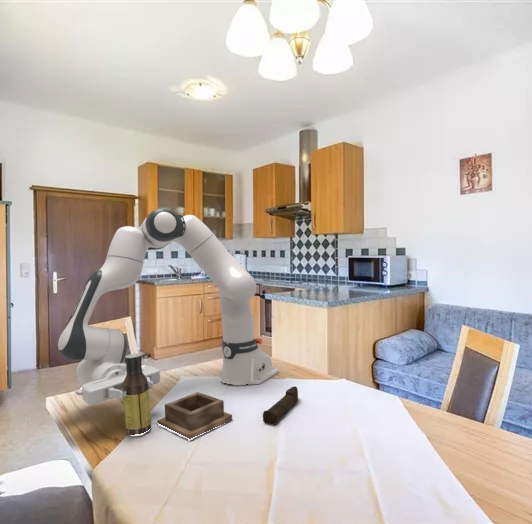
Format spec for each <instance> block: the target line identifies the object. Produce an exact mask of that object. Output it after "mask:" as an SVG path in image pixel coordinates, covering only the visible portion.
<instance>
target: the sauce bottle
mask: <svg viewBox="0 0 532 524" xmlns="http://www.w3.org/2000/svg"><path fill="white" fill-rule="evenodd" d="M142 359H143V357H142V354H141V353H131V354H130V353H129V354H126V356H125V358H124V363H126V369H127V371H126V372H127V376H126V378H125V379H124V382H123V389H124V390H126V395H127V396H126V397H124V398H122V399H123V411H124V413H123V414H124V423H125V429H126V431H125V432H126V435H127V436H129V435H135V434H141V433H144V432H146V431H148V430H149V429H150V428H151V429H152V427H151V426H152V424H151V423H152V417H151V406H150V405H151V402H150V391H149V390H150V389H148V381H147V378H146V376H145V375H144V374H143V373H142V365H143V364H141V363H142ZM151 429H150V430H151Z"/></svg>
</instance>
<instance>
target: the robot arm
mask: <svg viewBox="0 0 532 524" xmlns="http://www.w3.org/2000/svg"><path fill="white" fill-rule="evenodd" d="M172 242H175V243H178V244H179V245H180V246H181V247H183V249H184V250H185V251H186V252H187V254H189V256H190V257H191V259H192V260H193V261H194V262H195V263H196V264H197V266H199V268H200V269H201V270H202V272H204V273H205V275H206V276H207V277H208V278H209V279H210V280H211V281H212V282H213V283H214V284H215V286H217V288H218V296H219V305H220V312H221V319H222V321H221V322H222V323H221V324H222V338H223V339H222V342H221V343H222V345H221V346H222V354H223V355H222V357H223V358H222V367H221V376H220V379H221V381H222V382H224V383H227V384H226V385H228V384H233V385H232V386H247V385H246V384H248V385H261V384H262V383H264V382H266V381H267V380H269V379H270V378H272V377H273V376H275V375H276V374H278V373H279V372H280V370H279V369H278V368H277V367H275V366H273V363H272V358H271V356H270V355H269V354H267V353H266V352H264V351H263V350H262V349H260V348H259V346H258V345H262V344H263V339H262V338H259V337H257V338H255V333H254V332H255V328H254V327H255V326H254V316H253V313H252V312H253V311H252V309H251V302H250V301H251V300H252V298H254V296H255V295H256V293H257V283H256V281H255V279H254V277H253V276H252V275H251V274H250V273H249V271H248V270H247V269H246V268H245V266H244V265H242V263H240V262H239V261H238V260H237V259H236V258H235V257H234V256H233V255H232V254H231V252H229V251H228V249H227V248H226V247H225V246H224V245H223V243H222V242H221V241H220V240H219V238H217V236H216V235H215V234H214V233H213V231H212V230H211V229H210V228H209V227H208V226H207V225H206V224H205V223H204V222H203V221H202V220H201V219H199V218H198V217H197V216H196V215H194V214H186V215H183V216H182V215H180V214H178V213H177V212H175V211H173V210H172V209H168V208H164V207H163V208H162V207H161V208H156V209H154V210H152V211H151V212H149V214H148V215H147V216H146V217H145V219H144V220H143V222H142V223H141V225H140V226H138V227H135V226H130V225H128V226H127V225H126V226H122V227H121V226H120V227H118V229H117V230H116V231H115V233H114V235H113V237H112V240H111V242H110V245H109V248H108V251H107V254H106V257H105V261H104V264H103V265H102V266H101V268H100V269H99V270H95V271H93V272H91V274H90V275H89V277H88V278H87V280H86V283H85V284H84V287H83V289H82V290H81V292H80V295H79V297H78V299H77V302H76V304H75V306H74V308H73V311H72V312H71V315H70V317H69V319H68V321H67V323H66V324H65V326H64V328H63V330H62V331H61V333H60V335H59V338H58V342H57V351H58V352H59V353H60V355H61V356H62V357H63V359H64V360H66V361H69V362H71V361H75V362H77V361H80V362H79V363H78V364H77V366H76V371H75V375H76V378H77V380H78V382H79V383H80V384H81V385H82V386H81V387H79V388H78V389H76V390H75V395H77V396H79V397H80V396H81V398H82V400H83V401H84V402H85V403H86V404H88V405H95V404H99V403H101V402H104V401H107V400H111V399H120V400H122V399H123V398H124V397H126V396H127V395H126V390H124V389H123V382H124V379H125V378H126V376H127V372H126V371H127V369H126V362H124V361H125V356H127V352H128V340H127V337H126V335H125V334H124V332H123V331H122V330H120V329H115V328H109V327H98V326H93V325H92V326H91V325H88V324H89V320H90V319H91V316H92V314H93V311H94V309H95V307H96V306H97V305H96V304H97V302H98V300H99V298H101V296H102V295H104V294H106V293H107V292H108V293H109V292H111V291H117V290H123V289H126V288H127V289H128V288H129V287H132V286H133V285H135V283H137V282H138V281H139V280H140V278H141V275H142V272H143V267H144V263H145V258H146V257H145V256H146V254H147V252H148V251H152V250H153V251H154V250H155V251H157V250H161V249H164V248H165V247H167V246H169V245H170V244H171V243H172ZM141 364H142V362H141ZM142 373H143V374H144V375H145V376H146V378H147V381H148V389H149V390H152V389H154V385H156V384H159V383H160V382H161V371H160V369H159V368H157V367H155V366H151V365H149V364H142ZM221 381H220V382H221ZM222 382H221V383H222ZM224 383H223V384H224Z"/></svg>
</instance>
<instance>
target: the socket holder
mask: <svg viewBox="0 0 532 524" xmlns="http://www.w3.org/2000/svg"><path fill="white" fill-rule="evenodd" d="M224 403H225V402H224V400H223V399H220V398H216V397H213V396H211V395H208V394H205V393H202V392H199V391H197V392H194V393H191V394H189V395H186V396H183V397H181V398H178V399H176V400H173V401H170V402H169V403H166V404H164V417H162V418H160V419H157V423H159V424H161V425H163V426H165V427H167V428H169V429H171V430H173V431H175V432H177V433H179V434H181V435H183V436H185V437H187V438H189V439H191V438H193V437H195V436H198V435H200V434H202V433H204V432H207V431H209V430H211V429H213V428H215V427H218V426H220V425H222V424H224V423H226V422H228V423H230V422H232V421H233V414H231V413H228V412H225V404H224ZM231 420H232V421H231ZM229 421H230V422H229ZM157 423H156V424H157ZM226 424H227V423H226ZM224 425H225V424H224ZM222 426H223V425H222ZM220 427H221V426H220ZM218 428H219V427H218Z"/></svg>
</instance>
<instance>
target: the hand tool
mask: <svg viewBox="0 0 532 524" xmlns="http://www.w3.org/2000/svg"><path fill="white" fill-rule="evenodd" d="M298 401H299V390H298V387H297V386H291V387H289V389H286V391H285V394H284V396H283V397H281V398H280V399H279V400H278V401H276V403H274V404H272V406H271V407H270V408H268V409H266V410H264V411H263V413H262V421H263V423H264V424H266V425H269V426H275V425H276V423H278V421H279V419H280V418H281V417H282V416H283V415H284V414H285V413H287V411H288V410H289V409H290V408H291V407H295V406H296V405H297V403H298Z"/></svg>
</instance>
